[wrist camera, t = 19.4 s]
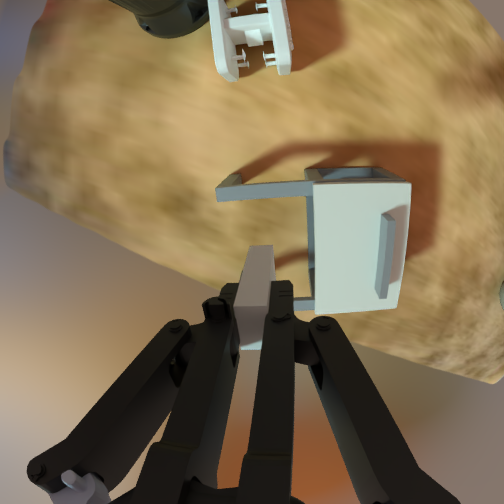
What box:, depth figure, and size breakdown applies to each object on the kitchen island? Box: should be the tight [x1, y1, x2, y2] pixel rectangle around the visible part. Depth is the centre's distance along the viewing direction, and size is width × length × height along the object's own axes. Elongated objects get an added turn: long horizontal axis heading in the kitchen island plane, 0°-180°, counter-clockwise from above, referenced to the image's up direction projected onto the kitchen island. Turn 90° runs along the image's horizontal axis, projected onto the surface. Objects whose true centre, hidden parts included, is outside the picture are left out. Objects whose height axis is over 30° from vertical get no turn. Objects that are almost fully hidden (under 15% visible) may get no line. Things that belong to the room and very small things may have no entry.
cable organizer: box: [208, 0, 294, 82], centre depth 33 cm, size 15×11×12 cm
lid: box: [313, 182, 411, 314], centre depth 38 cm, size 21×14×4 cm
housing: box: [215, 168, 406, 311], centre depth 46 cm, size 21×27×11 cm
